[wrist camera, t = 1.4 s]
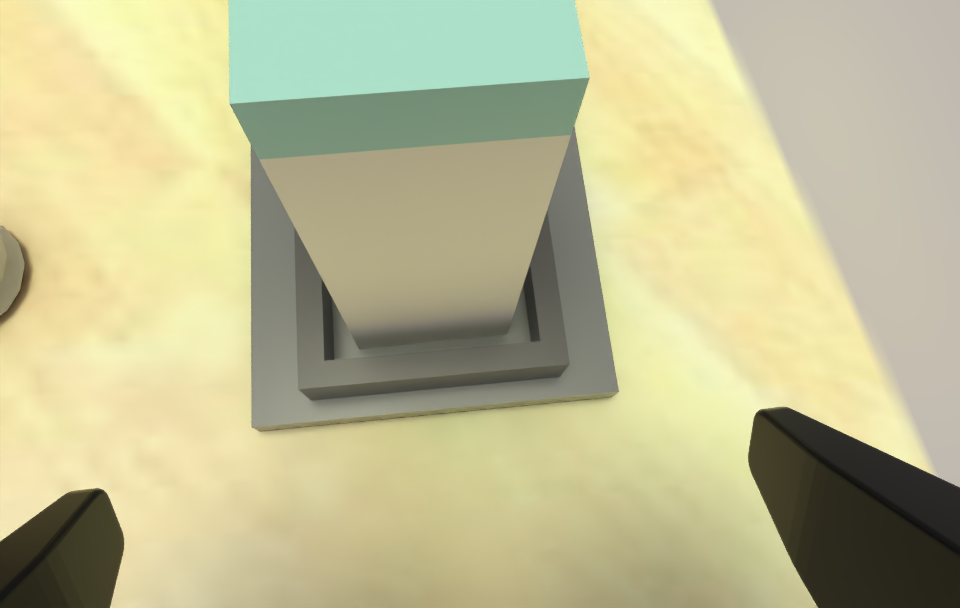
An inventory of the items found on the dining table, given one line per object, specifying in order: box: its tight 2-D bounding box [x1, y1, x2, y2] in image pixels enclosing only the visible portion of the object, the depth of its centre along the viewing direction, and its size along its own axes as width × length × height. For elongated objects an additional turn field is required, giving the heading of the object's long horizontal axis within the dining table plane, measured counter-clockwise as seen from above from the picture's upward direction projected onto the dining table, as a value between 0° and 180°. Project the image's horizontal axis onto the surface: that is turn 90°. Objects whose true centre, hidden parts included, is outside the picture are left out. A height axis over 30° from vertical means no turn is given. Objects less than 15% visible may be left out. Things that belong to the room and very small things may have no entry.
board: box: [251, 127, 619, 431], centre depth 25 cm, size 20×12×3 cm, turn 6°
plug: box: [229, 0, 590, 349], centre depth 17 cm, size 5×5×14 cm
